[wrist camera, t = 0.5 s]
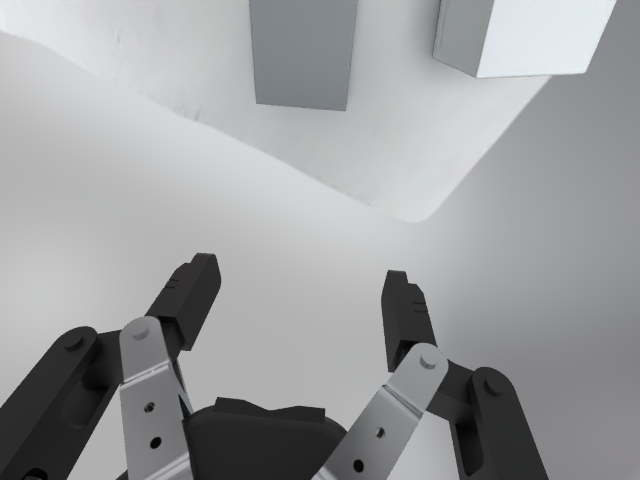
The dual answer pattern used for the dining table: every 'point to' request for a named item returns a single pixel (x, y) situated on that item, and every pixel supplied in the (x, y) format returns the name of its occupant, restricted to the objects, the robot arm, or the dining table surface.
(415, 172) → the dining table surface
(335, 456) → the robot arm
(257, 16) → the base
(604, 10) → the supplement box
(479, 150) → the dining table surface
